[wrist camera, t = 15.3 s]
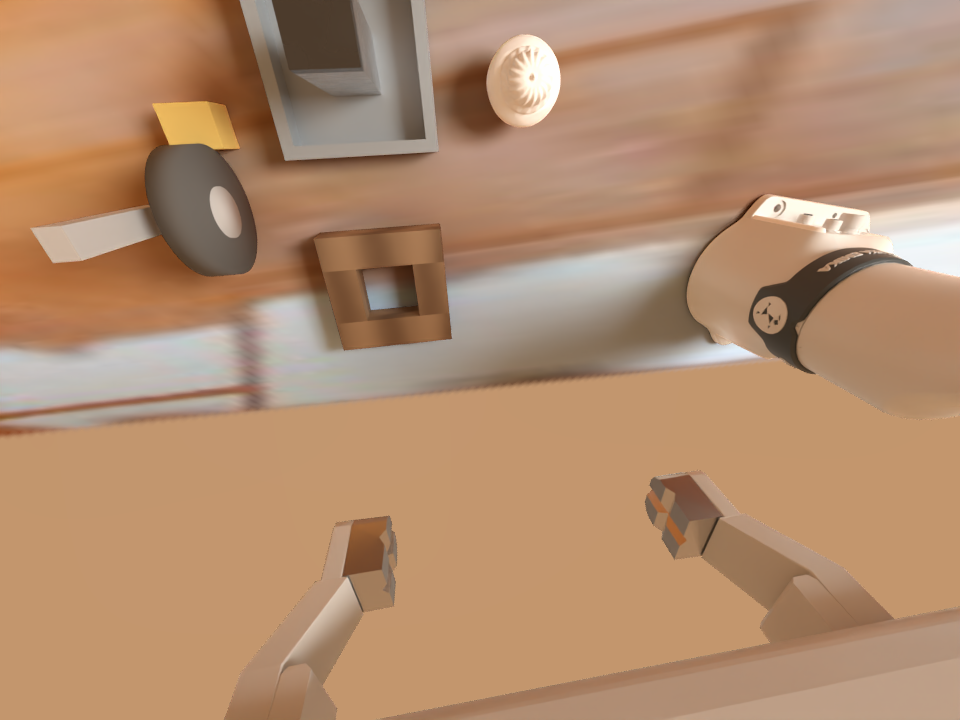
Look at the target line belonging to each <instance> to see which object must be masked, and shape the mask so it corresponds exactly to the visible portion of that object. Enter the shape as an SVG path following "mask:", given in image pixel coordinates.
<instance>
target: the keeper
mask: <svg viewBox="0 0 960 720" xmlns="http://www.w3.org/2000/svg"><path fill="white" fill-rule="evenodd" d="M313 240H314V243H315V247H316V251H317V254H318V258H319V262H320V265H321V269H322V273H323V276H324V280H325V283H326V287H327V291H328V294H329V298H330V302H331V305H332V309H333V312H334V316H335V320H336V323H337V327H338V331H339V334H340V338H341V342H342V345H343V349H344V350H352V349H362V348H371V347H380V346H390V345H399V344H408V343H418V342H427V341H436V340H446V339H452V336H451V326H450V316H449V306H448V296H447V286H446V276H445V266H444V256H443V247H442V237H441V228H440V224H427V225H414V226H401V227H388V228H376V229H363V230H350V231H337V232H324V233H320V234H319V235H318V236H316V237H315V238H314V239H313ZM402 265H412V266H413V273H414V279H415V286H416V293H417V300H418V306H411V307H400V308H390V309H380V310H371V309H370V305H369V300H368V296H367V291H366V286H365V282H364V277H363V273H362V269H368V268H379V267H391V266H402Z"/></svg>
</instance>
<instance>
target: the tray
mask: <svg viewBox="0 0 960 720" xmlns="http://www.w3.org/2000/svg"><path fill="white" fill-rule="evenodd" d="M358 2H359V5H360V7H361V9H362V11H363V14H364V16H365V18H366V21H367V23H368V25H369V28H370V30H371V32H372V36H373V43H374V49H375V56H376V62H377V69H378V75H379V82H380V89H381V95H362V96H339V97H334V96H332V95H330V94H328V93H327V92H325V91H323V90H322V89H320V88H318V87H317V86H315V85H313V84H312V83H310V82H308V81H307V80H305V79H303V78H301V77H300V76H298V75H296V74H295V73H293V72H291V71H290V70H289V68H288V64H287V60H286V56H285V52H284V48H283V44H282V40H281V36H280V32H279V28H278V24H277V20H276V16H275V12H274V8H273V4H272V0H240V3H241V7H242V10H243V14H244V17H245V21H246V25H247V28H248V32H249V35H250V39H251V42H252V46H253V49H254V53H255V56H256V60H257V63H258V67H259V70H260V74H261V77H262V81H263V85H264V88H265V92H266V95H267V99H268V102H269V106H270V109H271V113H272V116H273V120H274V123H275V127H276V130H277V134H278V137H279V141H280V144H281V148H282V152H283V155H284V159H285V161H289V160H306V159H323V158H340V157H357V156H374V155H390V154H407V153H424V152H439V149H438V139H437V128H436V117H435V106H434V96H433V85H432V74H431V64H430V53H429V42H428V32H427V21H426V10H425V0H358Z"/></svg>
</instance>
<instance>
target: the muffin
mask: <svg viewBox="0 0 960 720" xmlns="http://www.w3.org/2000/svg"><path fill="white" fill-rule="evenodd" d="M486 85H487V93H488V97H489V100H490V103H491V105H492V107H493V109H494V111H495V113H496V114H497V115H498V117H499V118H500V119H501V120H502V121H504V122H505V123H506V124H508V125H511V126H513V127H519V128H524V127H530V126H533V125H535V124H537V123H538V122H540V121H541V120H542V119H543V118H544V117H545V116H546V115H547V114H548V113H549V112H550V110H551V109H552V107H553V105H554V104H555V101H556V99H557V97H558V93H559V89H560V70H559V65H558V62H557V59H556V57H555V55H554V53H553V51H552V50H551V48H550V47H549V46H548V45H547V44H546V43H545V42H544V41H543V40H541V39H540V38H538V37H536V36H533V35H518V36H515V37H512V38H510V39H509V40H507V41H506V42H505V43H504V44H503V45H502V46H501V47H500V48H499V49H498V51H497V52H496V54H495V55H494V57H493V59H492V61H491V63H490V66H489V69H488V73H487V81H486Z"/></svg>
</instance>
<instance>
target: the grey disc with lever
mask: <svg viewBox="0 0 960 720" xmlns="http://www.w3.org/2000/svg"><path fill="white" fill-rule="evenodd" d="M153 107H154V109H155V112H156V114H157V116H158V119H159V121H160V123H161V126H162V128H163V131H164V133H165V135H166V138H167V140H168V143H169V145H162V146H159V147H156V148H155V149H154V150H153V151H152V152H151V153H150V155H149V157H148V159H147V162H146V167H145V187H146V193H147V198H148V202H149V205H142V206H137V207H132V208H128V209H123V210H118V211H113V212H108V213H103V214H98V215H93V216H88V217H83V218H78V219H73V220H68V221H63V222H58V223H53V224H49V225H44V226H39V227H34V228H31V230H32V232H33V233H34V235H35V236H36V238H37V239H38V241H39V242H40V244H41V245H42V247H43V248H44V250H45V252H46V253H47V255H48V256H49V258H50V259H51V261H52V262H53V263H59V262H72V261H83V260H86V259H89V258H92V257H95V256H98V255H101V254H104V253H107V252H110V251H113V250H116V249H119V248H122V247H125V246H128V245H131V244H134V243H137V242H140V241H143V240H146V239H150V238H153V237H156V236H159V235H162V236H163V237H164V239H165V240H166V242H167V244H168V245H169V246H170V248H171V249H172V251H173V252H174V253H175V254H176V255H177V257H178V258H179V259H180V260H181V261H182V262H183V263H184V264H185V265H187V266H188V267H189V268H190V269H192V270H193V271H195V272H197V273H199V274H201V275H204V276H224V275H235V274H244V273H246V272H248V271H249V270H250V269H251V268H252V266H253V264H254V262H255V259H256V254H257V233H256V227H255V222H254V218H253V214H252V210H251V207H250V204H249V202H248V199H247V196H246V194H245V192H244V190H243V188H242V185H241V183H240V182H239V180H238V178H237V176H236V175H235V173H234V172H233V170H232V169H231V167H230V166H229V164H228V163H227V162H226V161H225V160H224V158H223V157H222V156H221V155H220V154H219V153H218V152H216V151H215V150H227V149H240V147H239V144H238V141H237V138H236V135H235V132H234V129H233V126H232V123H231V121H230V118H229V115H228V112H227V109H226V106H225V105H222V104H218V103H213V102H209V101H200V102H177V103H154V104H153Z"/></svg>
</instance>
